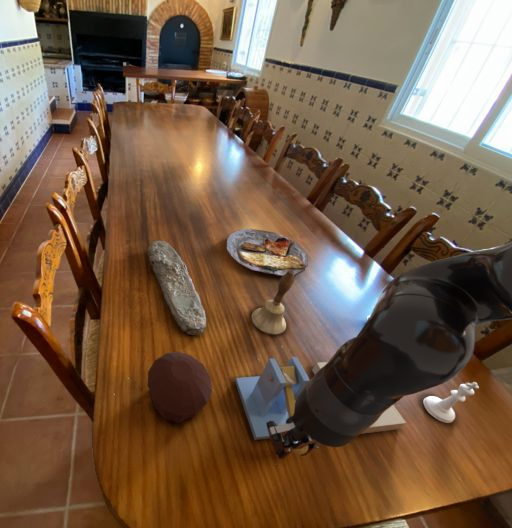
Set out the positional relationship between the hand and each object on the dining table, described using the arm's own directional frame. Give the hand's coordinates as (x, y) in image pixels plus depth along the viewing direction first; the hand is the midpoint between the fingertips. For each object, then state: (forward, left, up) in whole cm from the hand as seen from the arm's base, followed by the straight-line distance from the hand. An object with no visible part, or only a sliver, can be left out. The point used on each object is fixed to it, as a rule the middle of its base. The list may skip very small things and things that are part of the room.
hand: (289, 450), depth 49 cm
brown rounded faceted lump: (+11, +17, -2) cm, 20 cm away
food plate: (+54, -19, -2) cm, 57 cm away
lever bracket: (+8, 0, -2) cm, 8 cm away
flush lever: (+5, 0, +5) cm, 7 cm away
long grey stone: (+42, +12, -2) cm, 44 cm away
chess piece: (+4, -34, -2) cm, 34 cm away
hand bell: (+28, -9, -2) cm, 30 cm away
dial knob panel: (+8, -18, -2) cm, 20 cm away
